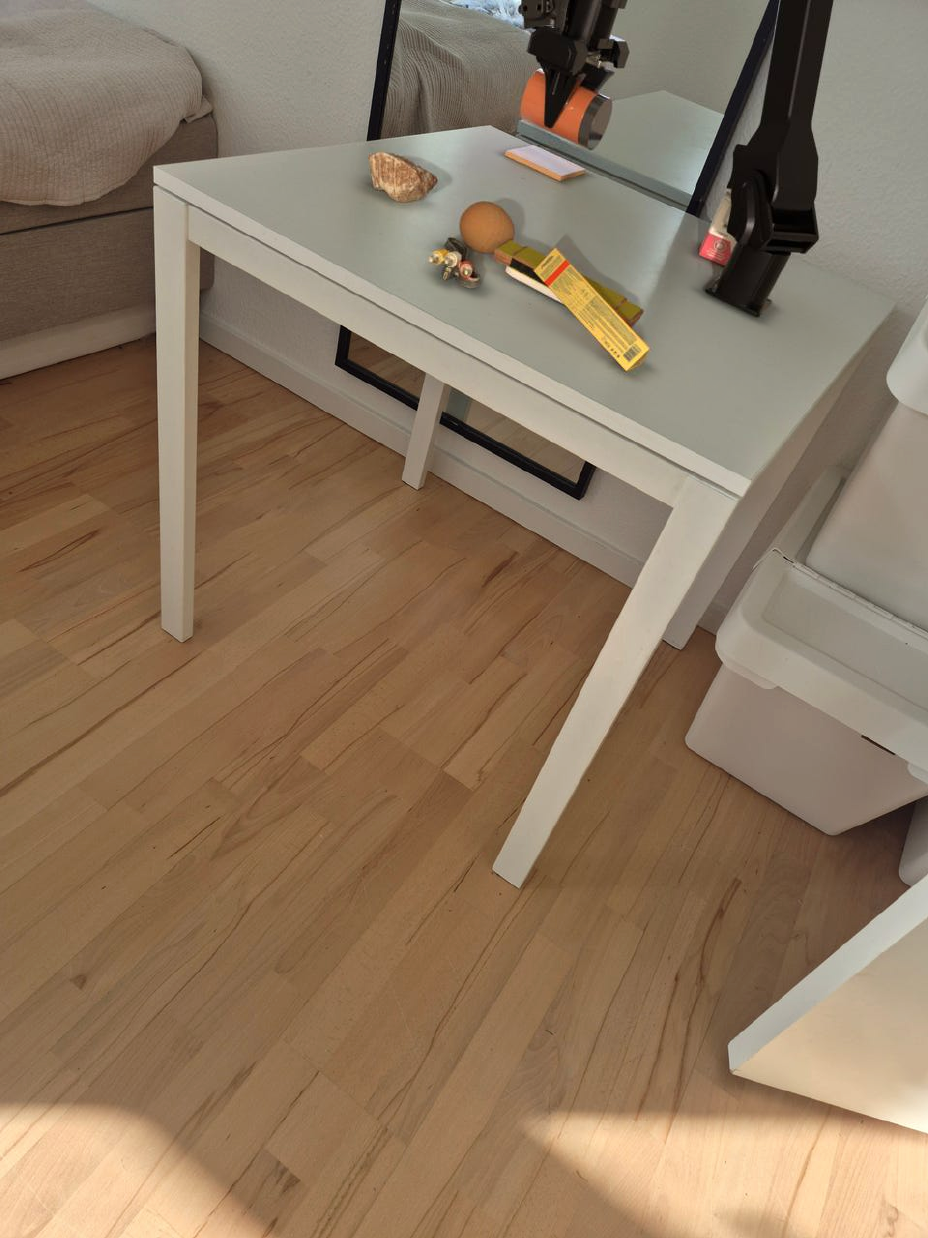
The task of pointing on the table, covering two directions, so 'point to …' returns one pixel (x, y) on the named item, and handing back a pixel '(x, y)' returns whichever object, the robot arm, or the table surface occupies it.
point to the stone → (400, 177)
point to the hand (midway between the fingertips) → (557, 125)
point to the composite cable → (456, 263)
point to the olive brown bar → (522, 268)
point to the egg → (486, 227)
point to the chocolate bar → (592, 310)
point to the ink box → (719, 234)
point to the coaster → (545, 162)
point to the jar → (569, 113)
